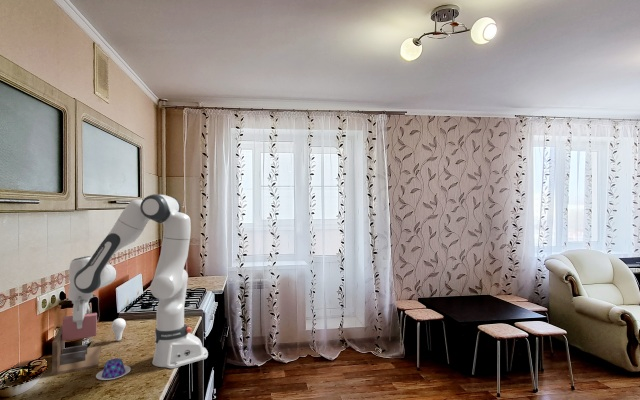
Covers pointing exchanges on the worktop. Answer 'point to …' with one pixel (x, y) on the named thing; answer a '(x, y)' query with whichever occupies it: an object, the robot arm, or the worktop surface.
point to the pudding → (113, 369)
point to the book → (86, 331)
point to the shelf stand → (72, 356)
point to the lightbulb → (118, 328)
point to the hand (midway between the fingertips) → (80, 326)
